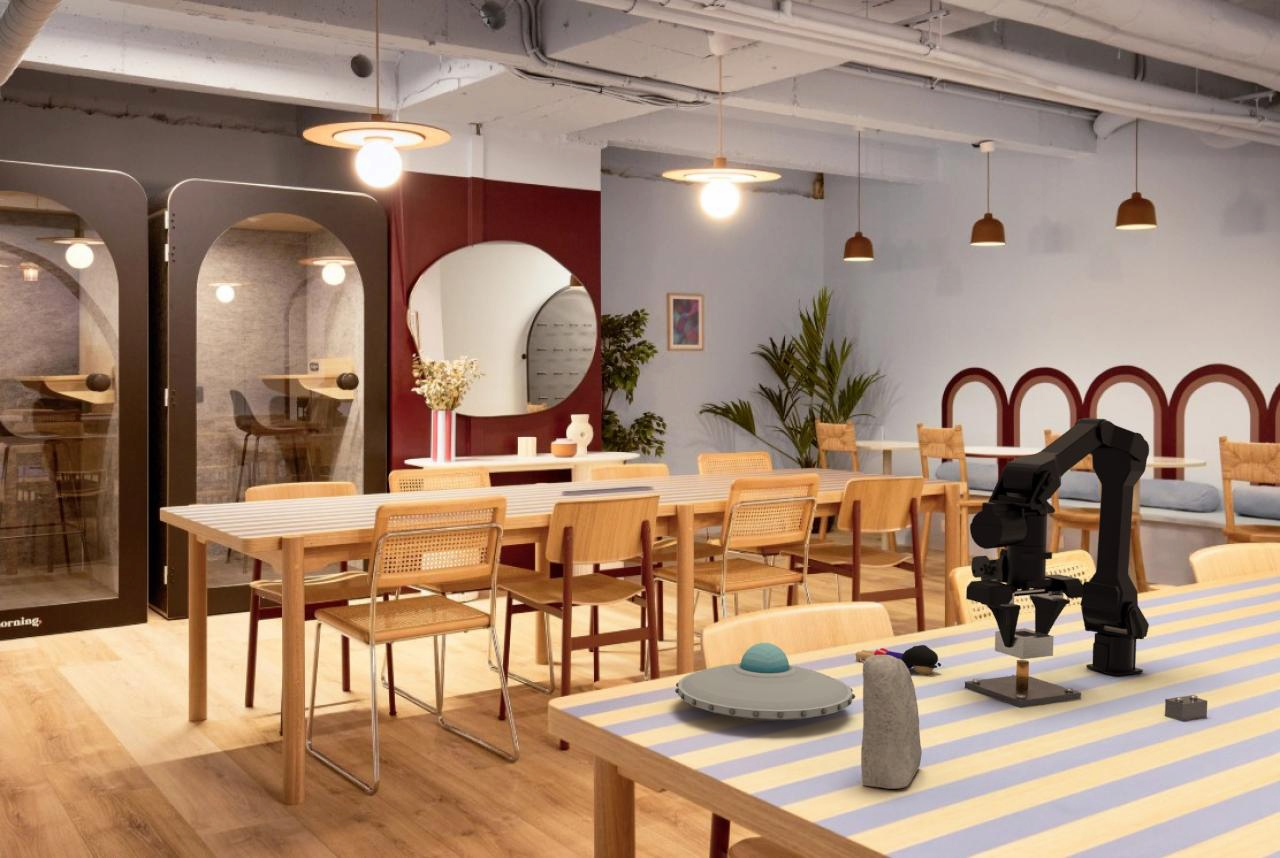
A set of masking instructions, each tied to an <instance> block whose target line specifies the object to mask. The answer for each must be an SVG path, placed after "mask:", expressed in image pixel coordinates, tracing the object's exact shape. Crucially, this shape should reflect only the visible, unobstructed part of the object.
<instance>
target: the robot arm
mask: <svg viewBox="0 0 1280 858" xmlns="http://www.w3.org/2000/svg"><path fill="white" fill-rule="evenodd" d="M1089 455H1090V456H1091V463H1092V464H1091V465H1092V469H1093V471H1094V473H1095V475H1096V477H1097V479H1098V480H1099V483H1100V485H1101V487H1100V488H1101V489H1100V490H1101V491H1100V504H1099V505H1100V506H1099V507H1100V508H1099V517H1098V520H1099V521H1098V534H1097V535H1098V536H1097V550H1096V551H1097V554H1096V566H1095V567H1096V568H1095V569H1096V570H1095V573H1094V574H1093V575H1092V576H1091V578H1090V579H1089V581H1084V582H1083V583H1082V581H1081V579H1080V578H1078V577H1073V576H1069V575H1068V576H1067V575H1065V574H1064V575H1063V574H1057V573H1056V574H1047V572H1046V571H1047V569H1046V568H1047V567H1046V566H1047V560H1052V559H1053V552H1052V551H1047V539H1048V538H1047V536H1048V535H1047V534H1048V533H1047V532H1048V515H1049V514H1055V512H1056V509H1055V508H1054V506H1053V505H1052V504H1051V503H1049V502H1048V500H1050V499H1052V496H1054V494H1055V493H1056V492H1057V491H1058V489H1060V487H1061V486H1062V477H1063V476H1064V475H1065V474H1066V473H1067V472H1068V471H1070V470H1071V469H1072V468H1074V466H1076V465H1077V464H1078V463H1080V462H1081V461H1082V460H1084V458H1086V457H1087V456H1089ZM1149 455H1150V445H1149V443H1148V441H1147V440H1146V439H1145V438H1144V435H1142V434H1141V433H1139V432H1135V431H1132V430H1129V429H1127V428H1123V427H1122V426H1118V425H1116V424H1114V423H1113V422H1111V421H1110V420H1108V419H1105V418H1093V417H1092V418H1089V417H1083V418H1080V419H1077V421H1076V422H1075V423H1074V425H1073V426H1072V427H1071V428H1069V429H1068V430H1067V431H1065V432H1064V433H1063V434H1061V435H1060V436H1059V437H1058V438H1056V439H1055V440H1053V441H1052V442H1051V443H1050V444H1049V445H1047V446H1045V447H1044V448H1043V449H1042V450H1040V451H1039V452H1035V453H1032V454H1027V455H1023V456H1019V457H1017V458H1014V459H1012V460H1010V461H1009V462H1007V464H1005V465H1004V467H1003V470H1002V472H1001V474H1000V476H999V478H998V480H997V482H996V484H995V487H994V489H993V491H992V493H991V495H990V497H989V499H988V501H987V502H985V501H984V502H982V505H981V506H982V507H981V510H980V511H979V512H977V513H976V514H975V515H974V516H973V518H972V520H971V523H970V524H969V533H970V536H971V539H972V541H973V542H974V543H975V544H976V545H977V546H978V547H979V548H982V549H984V550H991V549H998V548H1001V549H1000V551H999V558H996V559H989V557H988V556H987V555H976V556H973V557H972V558H971V559H972V560H971V566H970V567H971V572H972V574H971V575H972V576H973V578H975V579H977V578H980V580H971V581H970V582H969V583H968V584H967V585H966V590H965V593H966V596H965V597H966V599H965V600H968V601H972V602H975V603H980V604H981V605H984V606H987V608H988V609H989V610H990V611H991V613H992V615H993V617H994V619H995V622H996V625H997V629H998V631H1000V634H1001V637H1002V640H1003V643H1004V646H1005V647H1008V648H1011V647H1012V643H1013V640H1014V636H1015V631H1016V629H1017V625H1018V620H1019V616H1020V610H1021V605H1019V604H1016V603H1015V597H1021V596H1022V597H1024V596H1029V599H1030V600H1031V602H1032V604H1033V606H1034V631H1036V632H1040V633H1044V634H1047V635H1049V633H1050V632H1051V631H1052V630H1051V629H1052V628H1053V626H1054V624H1055V623H1056V621H1057V619H1058V618H1059V616H1060V614H1061V613H1062V612H1063V610H1064V609H1065V607H1066V606H1067V605H1069V604H1070V603H1071V600H1070V599H1076V598H1077V599H1078V598H1081V600H1080V604H1079V605H1080V608H1081V609H1080V610H1081V615H1082V621H1083V625H1084V626H1083V627H1084V630H1085V631H1086V632H1093V633H1094V642H1093V644H1092V663H1089V664H1086V665H1085V668H1086V669H1090V670H1093V671H1096V672H1100V673H1104V674H1106V675H1111V676H1115V677H1119V676H1126V675H1134V674H1142V673H1144V669H1142V668H1139V667H1136V662H1137V661H1136V660H1137V659H1136V658H1137V640H1144V639H1145V637H1147V635H1148V632H1149V626H1150V623H1149V622H1148V620H1147V619H1146V617H1145V616H1144V613H1143V612H1142V610H1141V608H1140V607H1139V603H1138V602H1139V600H1138V597H1139V595H1138V589H1136V586H1135V585H1134V583H1133V580H1132V578H1131V577H1130V575H1129V566H1130V565H1129V564H1130V550H1131V549H1130V548H1131V535H1132V534H1131V532H1132V517H1133V515H1132V514H1133V502H1134V489H1135V485H1136V484H1137V483H1138V481H1139V480H1140V479H1141V477H1142V476H1143V474H1144V473H1145V472H1146V467H1147V462H1148V456H1149ZM1064 595H1065V596H1066V598H1064Z"/></svg>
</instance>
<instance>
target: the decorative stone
mask: <svg viewBox="0 0 1280 858" xmlns="http://www.w3.org/2000/svg"><path fill="white" fill-rule="evenodd" d="M862 678H863V681H862V682H863V683H862V709H863V711H862V712H863V713H862V714H863V715H862V716H863V717H862V718H863V720H862V721H863V724H862V725H863V726H862V740H861V750H860V751H861V752H860V753H861V754H860V755H861V756H860V757H861V758H860V761H861V763H860V767H861V783H862V785H864V786H865V787H873V788H884V789H888V790H890V789H903V788H906V787H908V786H909V784H911V782H912V781H913V778H914V776H915V775H916V773H917V771H918V770H919V768H920V766H921V760H922V745H921V736H920V734H921V733H920V718H919V708H918V702H917V695H916V688H915V684H914V681H913V678H912V675H911V672H910V670H909V668H907V666H906V665H905V664H904V662H903V661H902V660H901V659H897V658H895V657H893V656H890V655H872V656H870V657H868V658H867V659H865V660H863V665H862Z"/></svg>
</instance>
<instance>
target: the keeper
mask: <svg viewBox="0 0 1280 858" xmlns="http://www.w3.org/2000/svg"><path fill="white" fill-rule="evenodd" d="M1029 671H1030V661H1029V660H1028V659H1017V660H1016V673H1015V675H1009V676H999V677H991V678H984V679H978V678H977V679H975V678H974V679H971V680H968V681H964V689H967V690H969V691H971V692H974V693H975V692H976V693H977V694H979V695H980V694H981V695H983V696H986V697H989V698H993V699H995V700H998V701H1001V702H1003V703H1006V704H1009V705H1013V706H1014V707H1015V706H1016V707H1018V708H1026V707H1028V708H1029V707H1033V706H1035V707H1036V706H1042V705H1049V704H1056V703H1063V702H1070V701H1076V700H1077V701H1078V700H1081V697H1082V693H1081V691H1077V690H1074V688H1071V687H1065V686H1062V685H1059V684H1055V683H1052V682H1048V681H1046V680H1042V679H1041V678H1040V679H1039V678H1036V677H1032V676H1030V675H1029Z"/></svg>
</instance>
